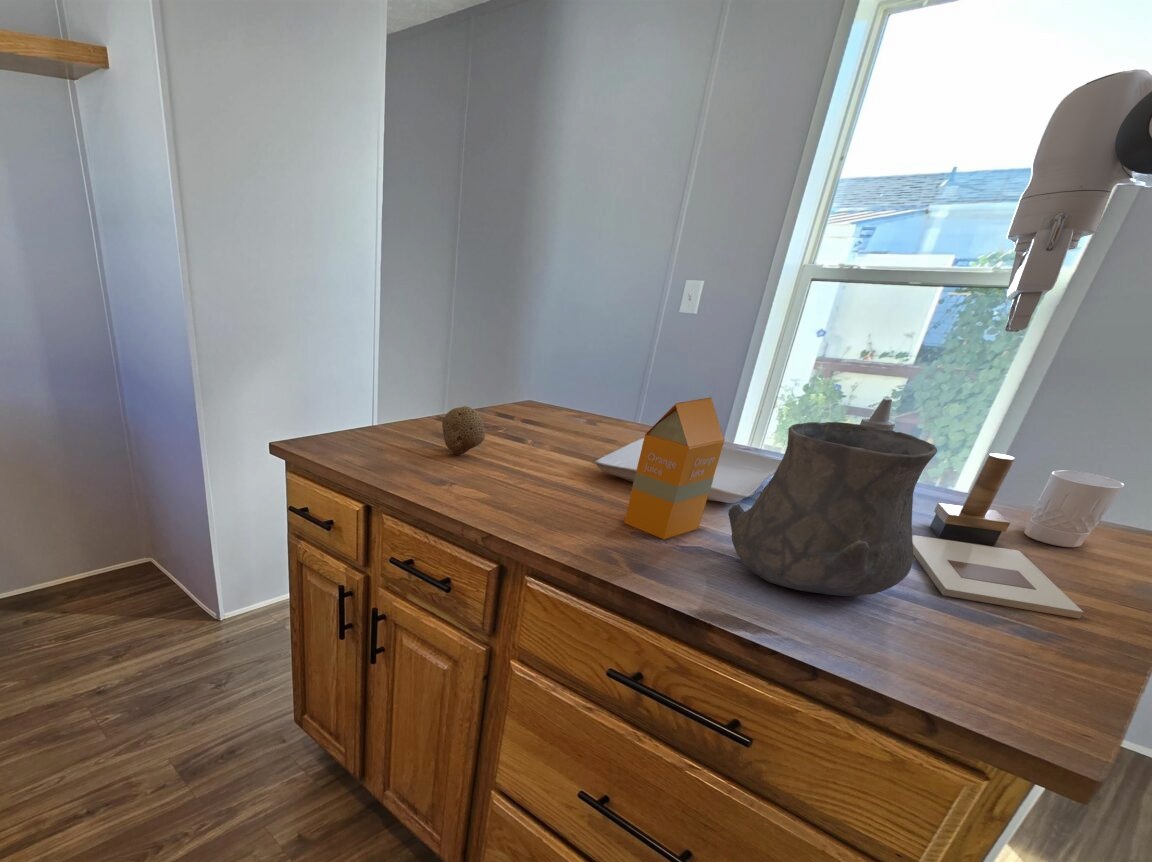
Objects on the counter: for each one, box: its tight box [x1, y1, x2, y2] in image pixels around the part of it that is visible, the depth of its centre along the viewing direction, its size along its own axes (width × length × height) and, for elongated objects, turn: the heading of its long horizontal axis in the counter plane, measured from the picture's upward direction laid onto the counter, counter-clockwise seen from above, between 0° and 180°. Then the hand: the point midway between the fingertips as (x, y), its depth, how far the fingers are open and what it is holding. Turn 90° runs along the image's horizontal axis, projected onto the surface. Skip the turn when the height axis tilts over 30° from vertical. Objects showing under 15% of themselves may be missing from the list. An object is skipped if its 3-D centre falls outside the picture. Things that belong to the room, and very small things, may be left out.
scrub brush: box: [929, 453, 1016, 547], centre depth 101 cm, size 8×6×13 cm
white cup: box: [1023, 469, 1126, 548], centre depth 101 cm, size 8×8×10 cm
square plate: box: [593, 437, 782, 504], centre depth 126 cm, size 27×27×4 cm
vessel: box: [727, 421, 938, 597], centre depth 86 cm, size 22×22×20 cm
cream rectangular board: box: [912, 534, 1084, 619], centre depth 92 cm, size 14×20×1 cm
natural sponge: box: [441, 405, 487, 456], centre depth 136 cm, size 9×9×10 cm
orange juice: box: [623, 396, 726, 540], centre depth 101 cm, size 8×9×20 cm
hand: (1014, 331), depth 95 cm, fingers open, 8 cm apart
